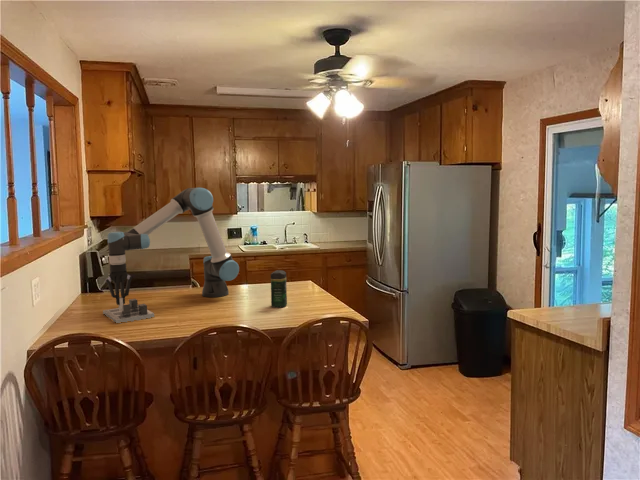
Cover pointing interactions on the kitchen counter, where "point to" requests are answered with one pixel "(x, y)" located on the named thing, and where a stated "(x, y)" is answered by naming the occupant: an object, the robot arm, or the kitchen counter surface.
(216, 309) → the kitchen counter surface
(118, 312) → the breaker panel
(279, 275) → the coffee jar
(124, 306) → the block
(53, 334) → the kitchen counter surface
